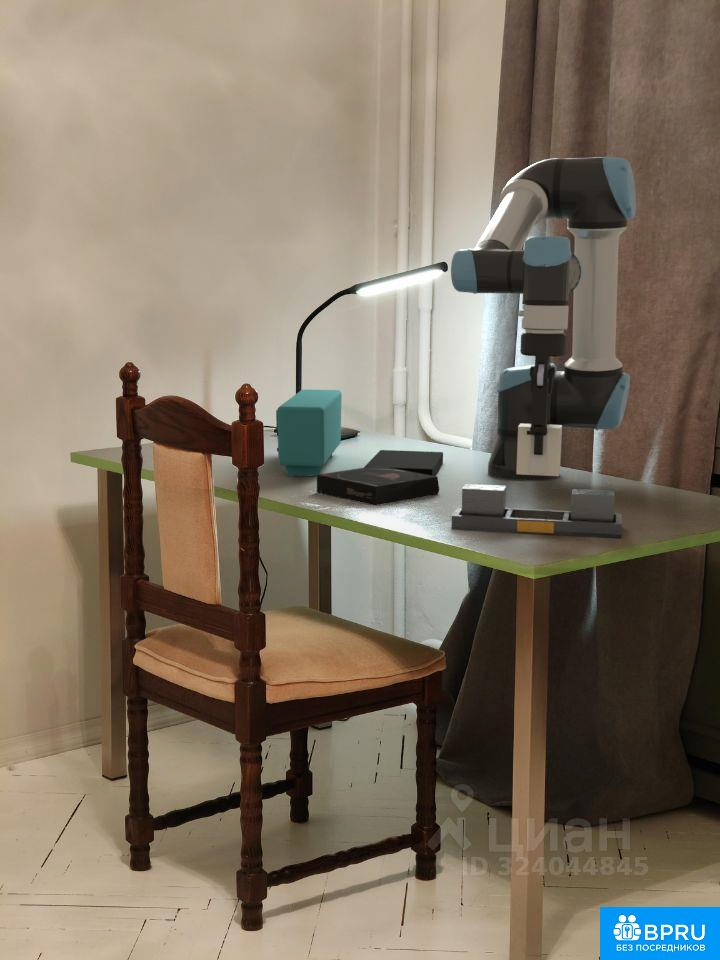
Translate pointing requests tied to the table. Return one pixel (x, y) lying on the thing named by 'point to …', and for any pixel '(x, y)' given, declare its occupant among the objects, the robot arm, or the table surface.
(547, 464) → the beige rectangular block
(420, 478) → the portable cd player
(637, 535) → the table surface
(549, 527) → the rack
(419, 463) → the external hard drive
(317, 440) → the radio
